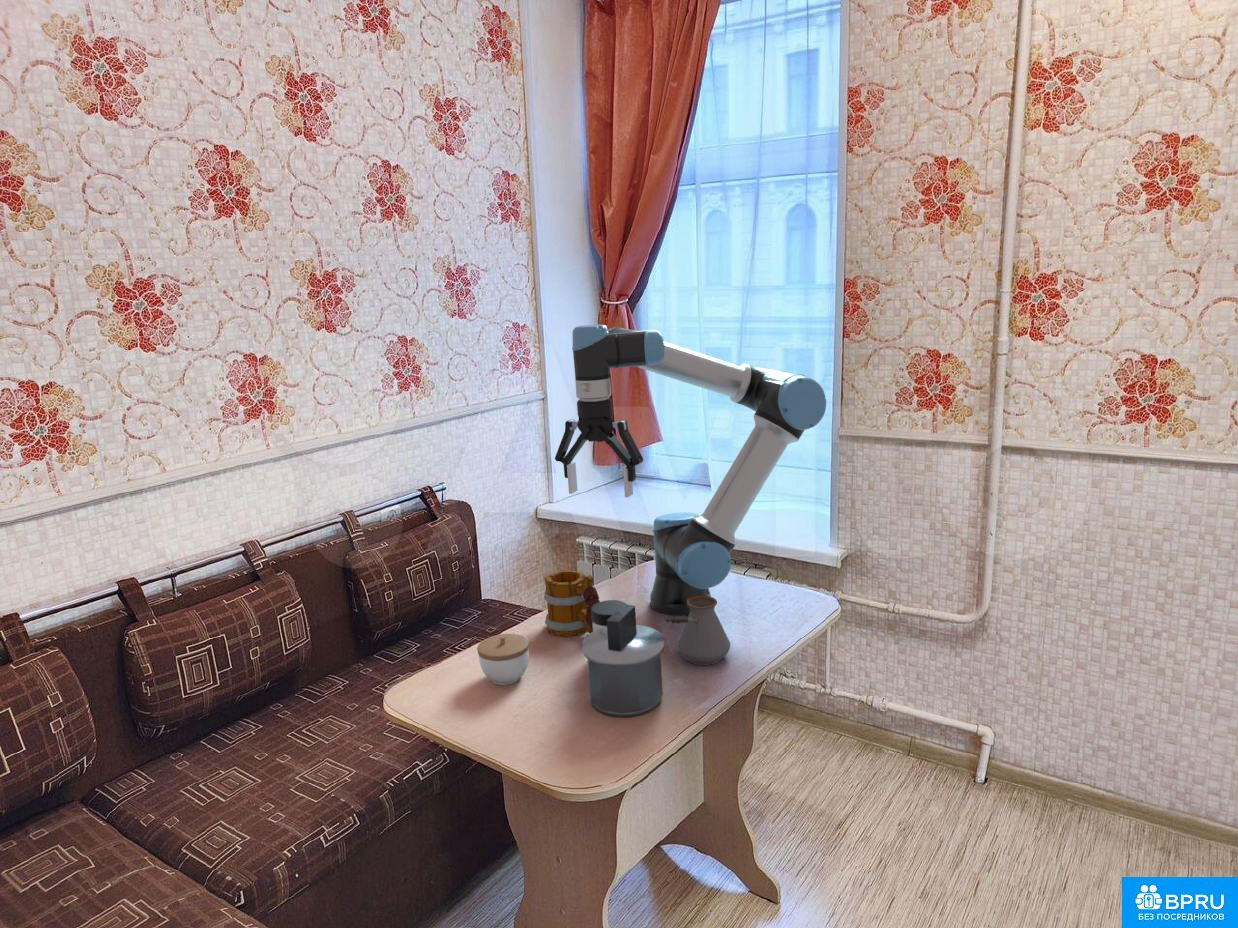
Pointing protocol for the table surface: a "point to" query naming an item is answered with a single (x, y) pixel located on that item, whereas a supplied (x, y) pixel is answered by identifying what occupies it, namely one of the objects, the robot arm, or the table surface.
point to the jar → (604, 612)
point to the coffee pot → (701, 632)
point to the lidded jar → (504, 657)
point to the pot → (626, 688)
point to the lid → (623, 641)
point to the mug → (569, 602)
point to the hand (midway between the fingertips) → (600, 494)
